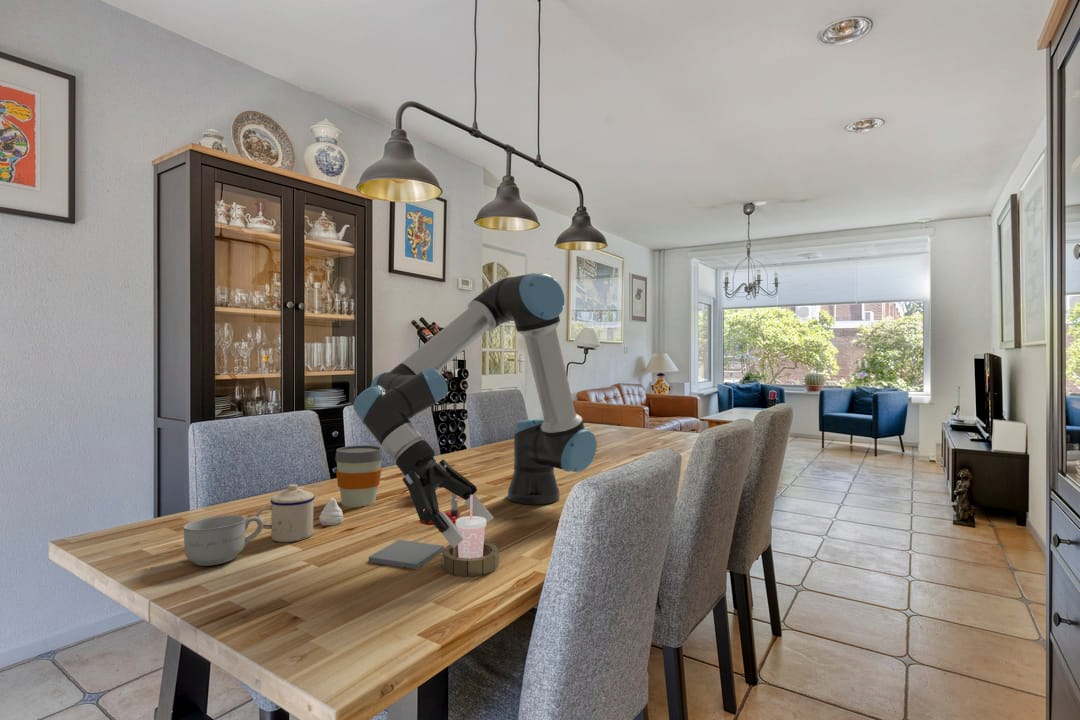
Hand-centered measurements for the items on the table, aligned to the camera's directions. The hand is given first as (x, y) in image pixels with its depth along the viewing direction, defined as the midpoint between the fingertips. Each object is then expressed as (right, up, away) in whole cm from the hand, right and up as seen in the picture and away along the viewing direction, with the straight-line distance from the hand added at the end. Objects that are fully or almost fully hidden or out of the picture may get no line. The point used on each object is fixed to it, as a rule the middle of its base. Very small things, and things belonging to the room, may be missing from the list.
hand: (474, 532), depth 108 cm
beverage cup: (-1, -7, +1) cm, 7 cm away
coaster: (-15, -7, +5) cm, 17 cm away
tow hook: (-12, -7, +31) cm, 34 cm away
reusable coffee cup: (-38, -6, +45) cm, 59 cm away
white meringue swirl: (-38, -6, +27) cm, 47 cm away
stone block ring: (-1, -7, +1) cm, 7 cm away
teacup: (-51, -6, +2) cm, 51 cm away
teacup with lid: (-45, -6, +16) cm, 48 cm away
